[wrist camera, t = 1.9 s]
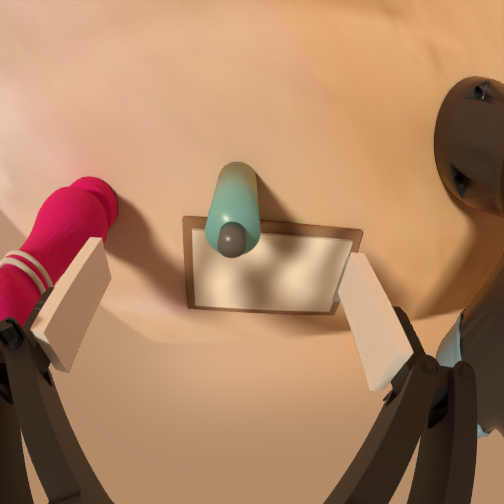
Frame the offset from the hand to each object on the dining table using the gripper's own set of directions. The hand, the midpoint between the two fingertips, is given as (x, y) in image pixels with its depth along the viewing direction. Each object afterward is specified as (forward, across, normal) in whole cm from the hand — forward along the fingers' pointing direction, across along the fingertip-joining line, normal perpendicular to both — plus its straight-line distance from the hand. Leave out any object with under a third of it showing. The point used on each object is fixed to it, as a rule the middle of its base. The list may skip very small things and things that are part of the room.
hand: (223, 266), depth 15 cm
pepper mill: (+13, +14, +3) cm, 20 cm away
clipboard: (+13, -4, +10) cm, 17 cm away
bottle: (+13, 0, 0) cm, 13 cm away
